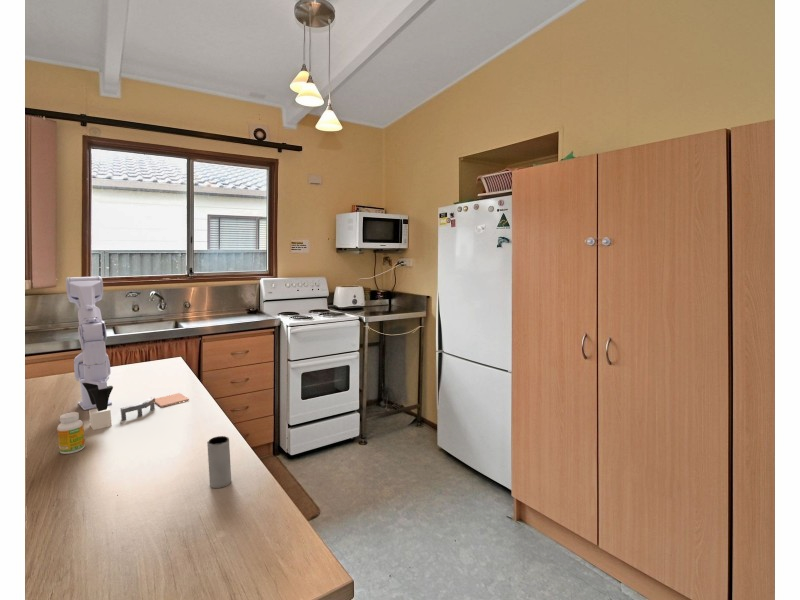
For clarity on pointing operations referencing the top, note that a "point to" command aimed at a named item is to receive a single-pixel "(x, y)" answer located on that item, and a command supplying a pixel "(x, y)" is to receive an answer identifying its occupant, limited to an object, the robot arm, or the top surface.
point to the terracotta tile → (170, 399)
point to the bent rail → (137, 408)
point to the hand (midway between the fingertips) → (99, 406)
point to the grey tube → (219, 461)
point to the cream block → (100, 418)
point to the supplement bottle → (70, 433)
